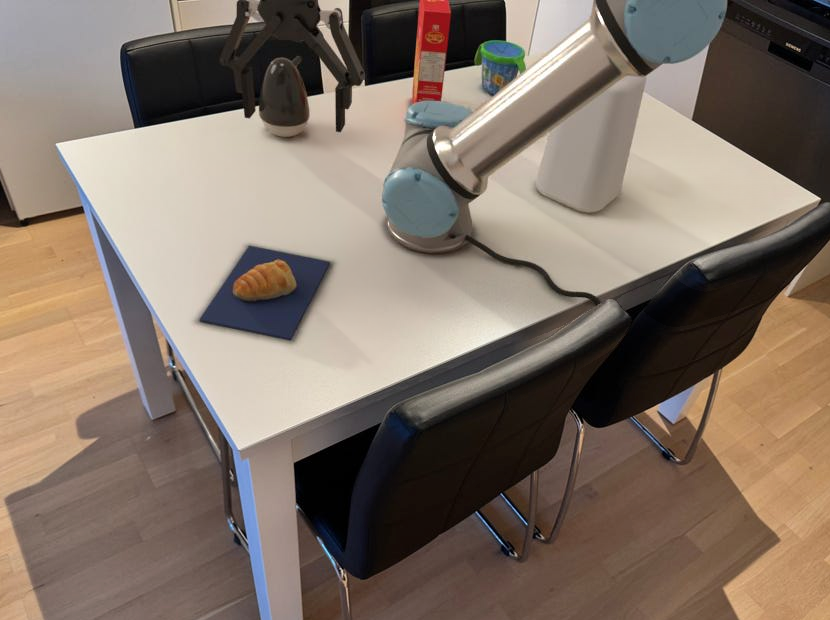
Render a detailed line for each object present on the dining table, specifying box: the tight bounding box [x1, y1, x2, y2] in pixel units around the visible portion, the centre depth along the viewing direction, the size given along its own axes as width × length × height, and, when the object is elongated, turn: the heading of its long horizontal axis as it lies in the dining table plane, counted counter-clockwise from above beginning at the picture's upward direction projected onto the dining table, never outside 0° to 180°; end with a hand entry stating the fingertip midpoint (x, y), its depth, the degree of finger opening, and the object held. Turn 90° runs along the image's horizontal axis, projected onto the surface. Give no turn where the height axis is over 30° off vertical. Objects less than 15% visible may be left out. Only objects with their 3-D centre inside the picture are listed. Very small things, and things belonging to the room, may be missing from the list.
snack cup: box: [474, 39, 527, 96], centre depth 179 cm, size 16×10×10 cm
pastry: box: [233, 259, 296, 301], centre depth 115 cm, size 9×7×4 cm
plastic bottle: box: [535, 75, 647, 214], centre depth 141 cm, size 15×15×28 cm
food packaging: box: [411, 0, 452, 105], centre depth 159 cm, size 15×5×25 cm, turn 4°
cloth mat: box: [199, 245, 331, 341], centre depth 116 cm, size 14×20×1 cm
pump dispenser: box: [258, 55, 311, 138], centre depth 150 cm, size 10×10×15 cm
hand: (295, 121), depth 109 cm, fingers open, 13 cm apart
